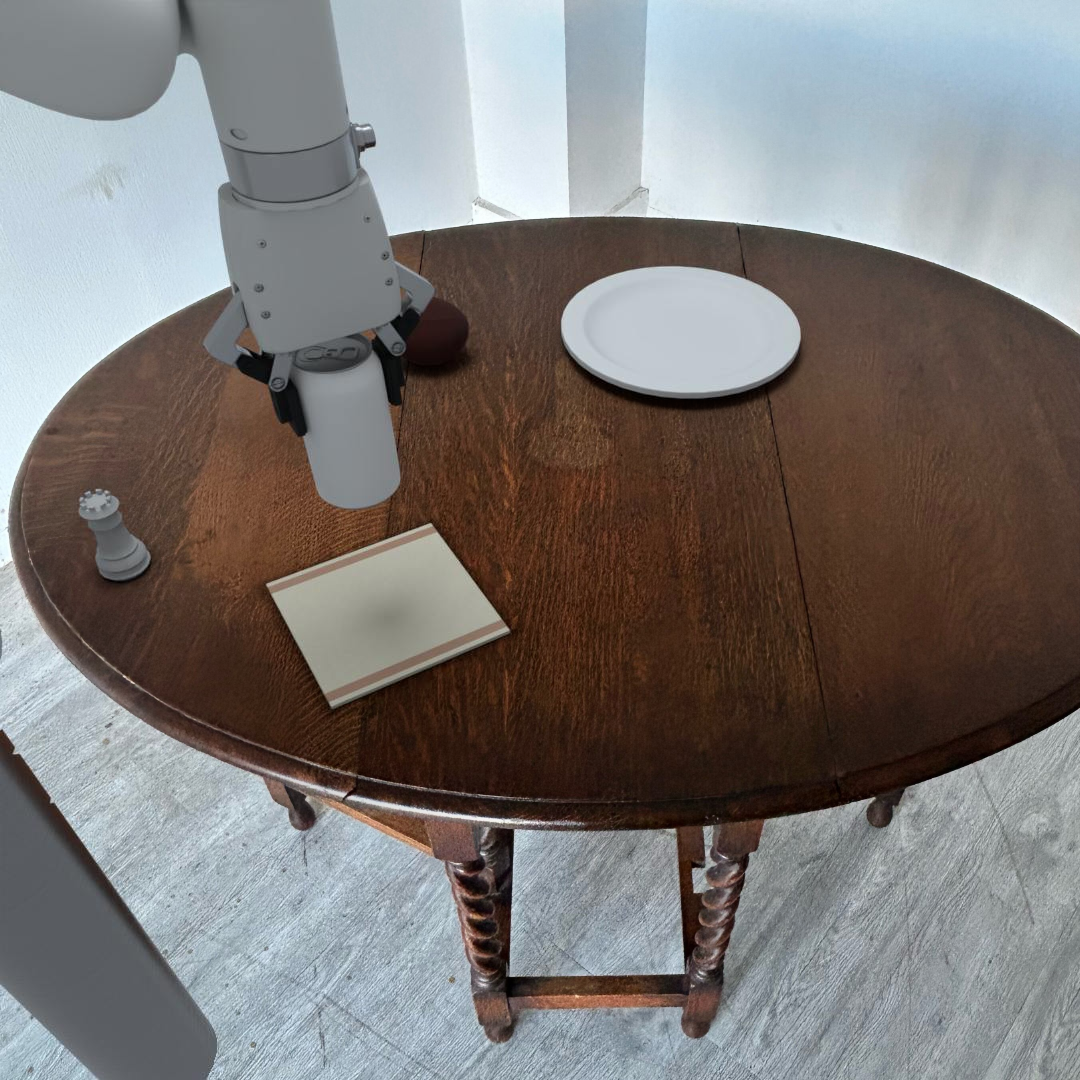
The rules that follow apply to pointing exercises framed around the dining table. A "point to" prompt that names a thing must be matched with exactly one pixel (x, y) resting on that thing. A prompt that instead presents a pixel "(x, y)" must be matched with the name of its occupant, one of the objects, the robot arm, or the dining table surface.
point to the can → (347, 422)
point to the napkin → (384, 613)
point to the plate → (680, 332)
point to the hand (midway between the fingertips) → (343, 409)
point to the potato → (437, 334)
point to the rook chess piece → (113, 538)
